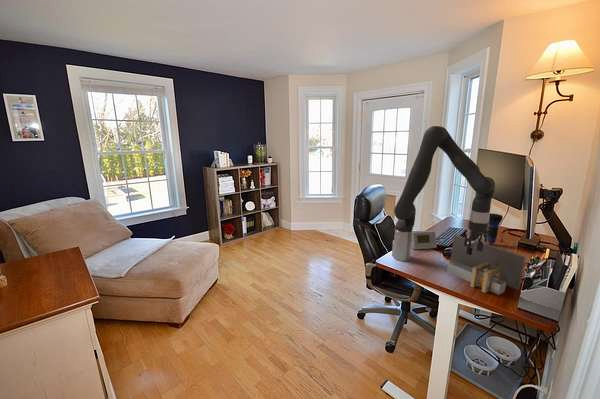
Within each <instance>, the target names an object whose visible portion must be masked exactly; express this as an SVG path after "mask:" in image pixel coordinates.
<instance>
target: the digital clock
mask: <svg viewBox="0 0 600 399" xmlns="http://www.w3.org/2000/svg"><path fill="white" fill-rule="evenodd" d="M436 235H437V233H436V231H435V230H417V231H412V242H411V249H413V250H429V249H430V250H432V249H437V247H438V246H437V236H436Z"/></svg>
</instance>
